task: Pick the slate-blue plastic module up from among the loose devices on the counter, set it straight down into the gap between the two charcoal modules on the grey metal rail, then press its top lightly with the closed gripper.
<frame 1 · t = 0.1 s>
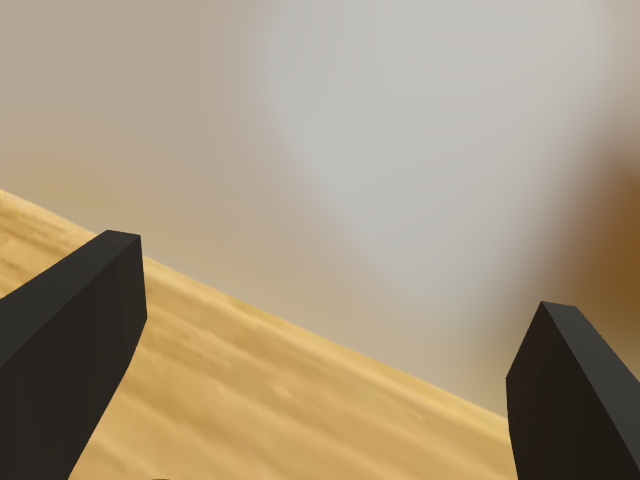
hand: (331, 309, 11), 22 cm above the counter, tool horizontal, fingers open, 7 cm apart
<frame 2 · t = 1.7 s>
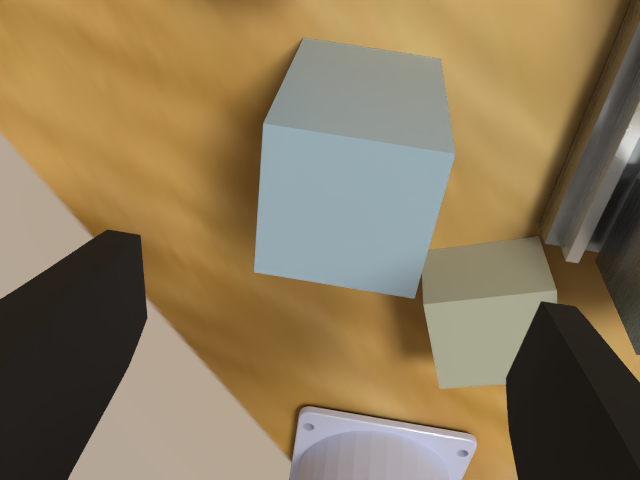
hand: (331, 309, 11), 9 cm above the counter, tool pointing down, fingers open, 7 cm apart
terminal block: (483, 284, 21), on the counter
module: (361, 112, 18), on the counter
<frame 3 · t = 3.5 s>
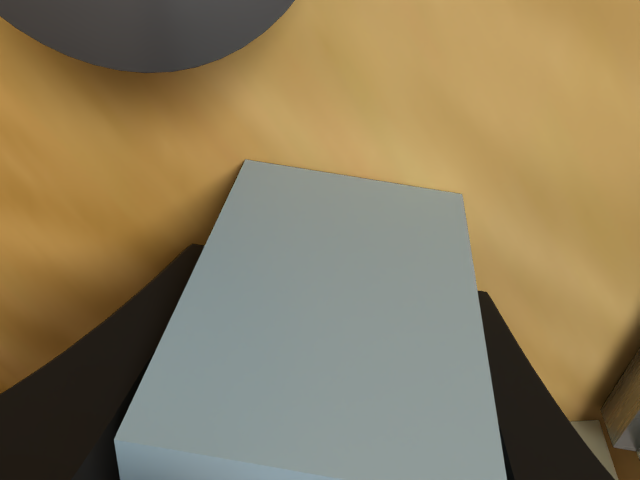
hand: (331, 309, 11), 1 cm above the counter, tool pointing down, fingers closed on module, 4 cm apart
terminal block: (515, 468, 15), on the counter
module: (338, 261, 12), on the counter, touching gripper
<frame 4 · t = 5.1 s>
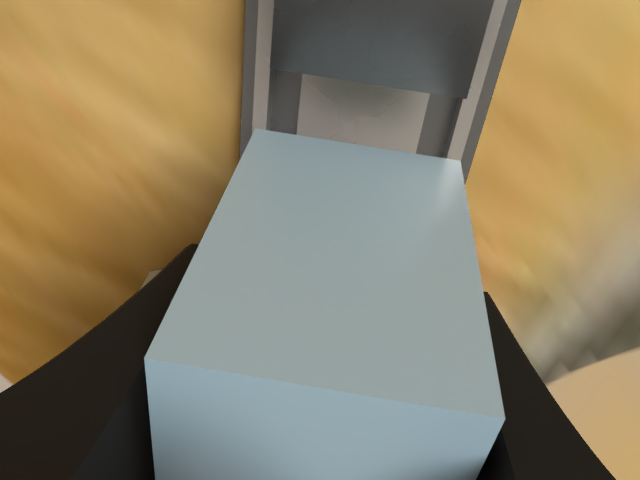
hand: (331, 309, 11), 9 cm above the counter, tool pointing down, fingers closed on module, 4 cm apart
rail base: (360, 112, 18), on the counter
module: (343, 228, 12), point 7 cm above the counter, touching gripper
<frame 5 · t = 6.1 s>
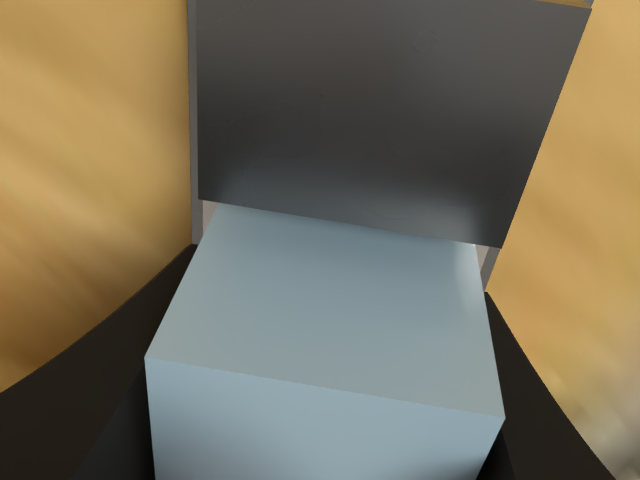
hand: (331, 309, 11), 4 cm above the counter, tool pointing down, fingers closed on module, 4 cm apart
rail base: (348, 197, 14), on the counter
module: (343, 228, 12), point 2 cm above the counter, touching gripper
when the fingers open (4 cm above the counter, at t = 6.8 s): module stays where it is, resting on rail base.
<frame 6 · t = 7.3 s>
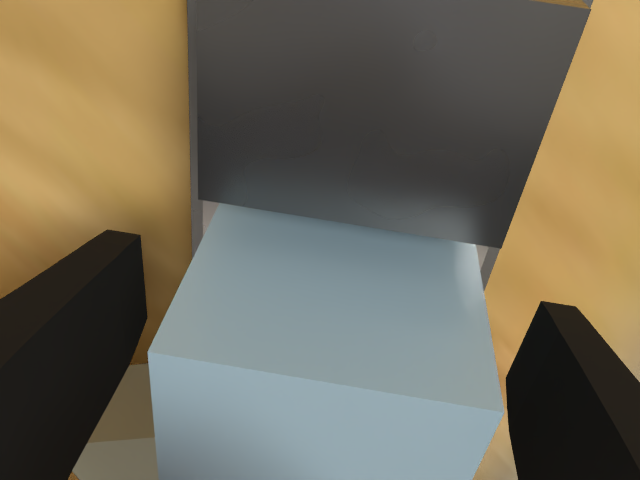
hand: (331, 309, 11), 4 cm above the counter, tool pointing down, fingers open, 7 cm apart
rail base: (348, 198, 14), on the counter
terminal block: (176, 400, 19), on the counter
module: (344, 225, 12), point 1 cm above the counter, touching rail base
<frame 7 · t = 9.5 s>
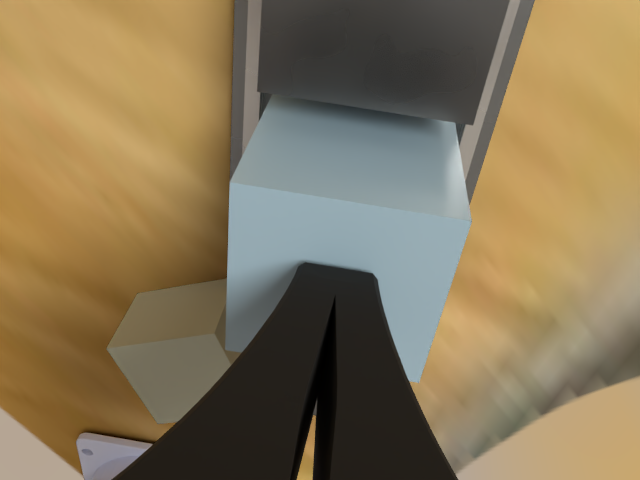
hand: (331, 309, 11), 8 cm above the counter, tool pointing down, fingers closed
rail base: (358, 129, 17), on the counter
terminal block: (207, 321, 22), on the counter
module: (356, 146, 16), point 1 cm above the counter, touching rail base
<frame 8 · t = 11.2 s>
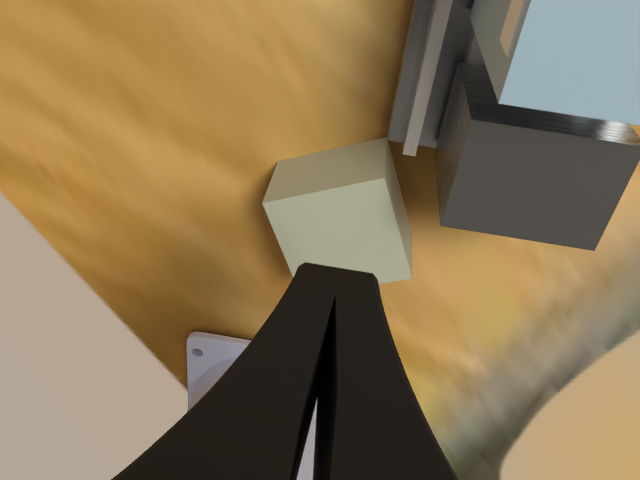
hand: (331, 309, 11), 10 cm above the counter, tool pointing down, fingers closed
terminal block: (346, 194, 22), on the counter
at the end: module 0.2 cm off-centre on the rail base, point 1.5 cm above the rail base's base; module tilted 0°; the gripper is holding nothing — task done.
